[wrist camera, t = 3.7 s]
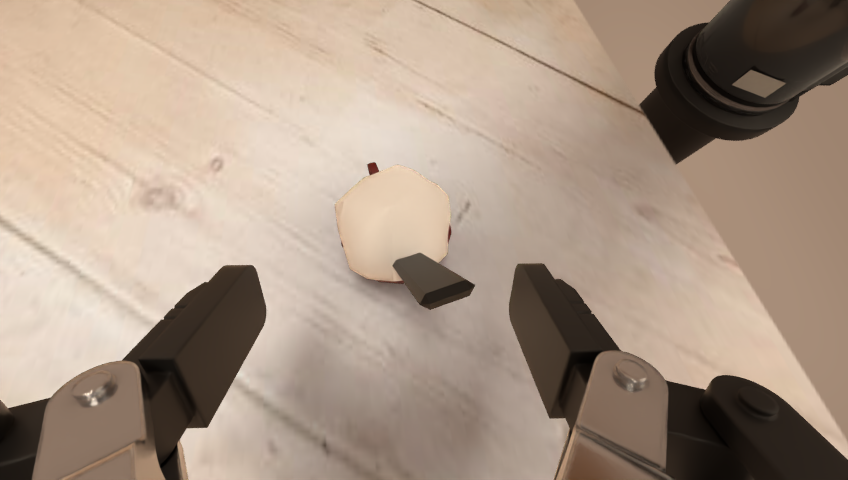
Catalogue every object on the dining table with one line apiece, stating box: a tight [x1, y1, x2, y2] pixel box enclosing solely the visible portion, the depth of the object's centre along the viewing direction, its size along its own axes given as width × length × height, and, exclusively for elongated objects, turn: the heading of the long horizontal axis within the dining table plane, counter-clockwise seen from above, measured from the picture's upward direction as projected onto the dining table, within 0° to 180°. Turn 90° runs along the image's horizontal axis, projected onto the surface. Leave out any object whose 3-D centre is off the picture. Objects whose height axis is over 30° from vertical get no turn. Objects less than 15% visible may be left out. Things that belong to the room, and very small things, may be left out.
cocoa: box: [335, 162, 475, 310], centre depth 16 cm, size 10×6×12 cm, turn 178°
